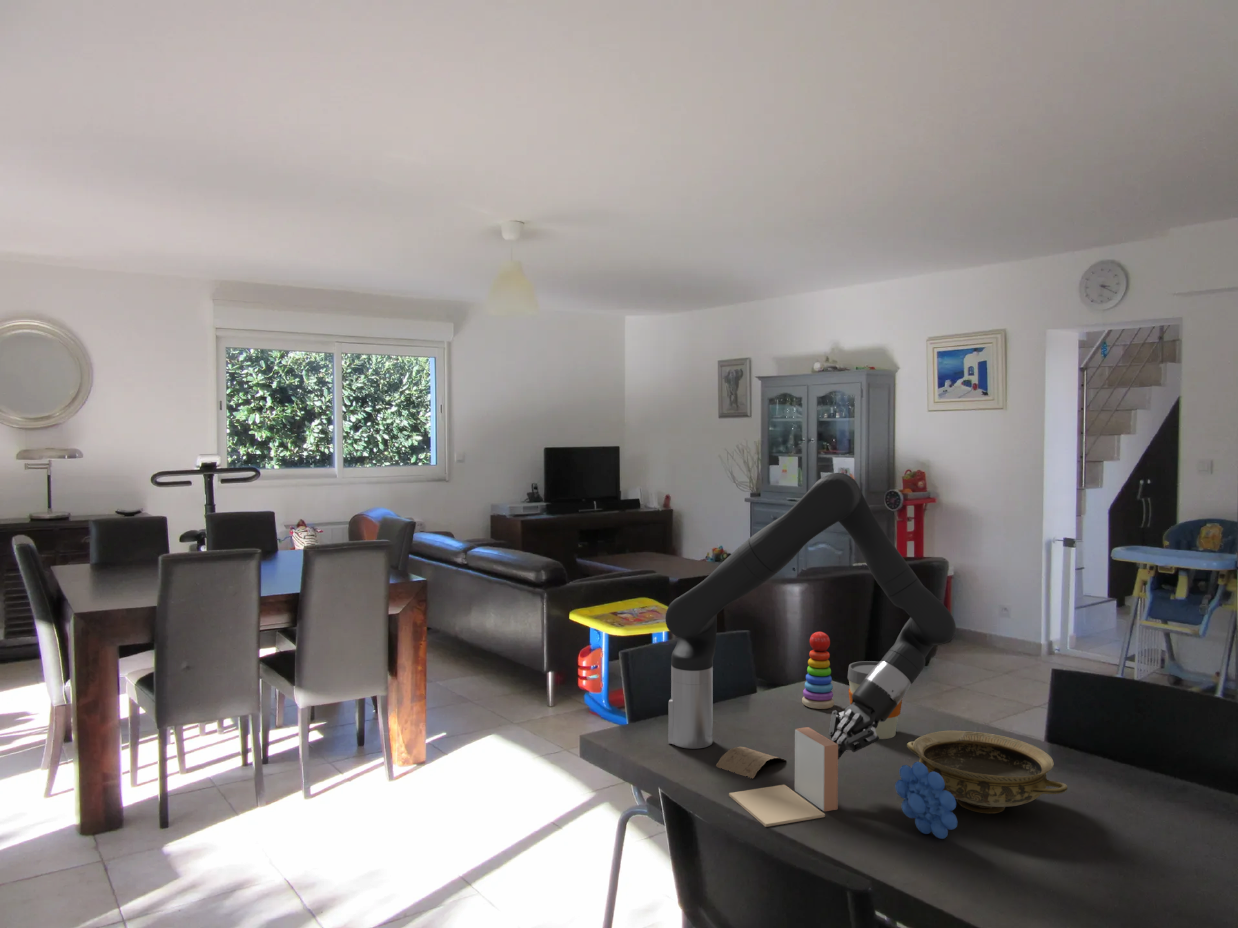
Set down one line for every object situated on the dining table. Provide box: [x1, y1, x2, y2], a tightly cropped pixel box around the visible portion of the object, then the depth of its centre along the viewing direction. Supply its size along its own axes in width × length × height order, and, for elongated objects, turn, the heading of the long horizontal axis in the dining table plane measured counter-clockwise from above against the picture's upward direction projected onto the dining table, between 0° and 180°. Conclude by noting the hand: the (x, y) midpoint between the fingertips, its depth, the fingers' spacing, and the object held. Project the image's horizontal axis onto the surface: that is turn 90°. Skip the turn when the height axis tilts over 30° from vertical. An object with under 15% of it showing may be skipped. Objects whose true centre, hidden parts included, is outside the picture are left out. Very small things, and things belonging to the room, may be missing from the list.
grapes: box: [894, 761, 958, 840], centre depth 145 cm, size 12×7×12 cm, turn 37°
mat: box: [728, 784, 826, 828], centre depth 157 cm, size 12×14×1 cm
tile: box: [794, 726, 839, 813], centre depth 160 cm, size 3×10×12 cm, turn 20°
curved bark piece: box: [715, 746, 787, 780], centre depth 178 cm, size 14×10×3 cm
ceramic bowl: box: [906, 730, 1068, 814], centre depth 158 cm, size 30×24×10 cm
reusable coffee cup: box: [847, 660, 903, 740], centre depth 197 cm, size 13×13×15 cm
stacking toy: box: [801, 631, 835, 710], centre depth 217 cm, size 8×8×19 cm
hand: (826, 761), depth 161 cm, fingers closed
